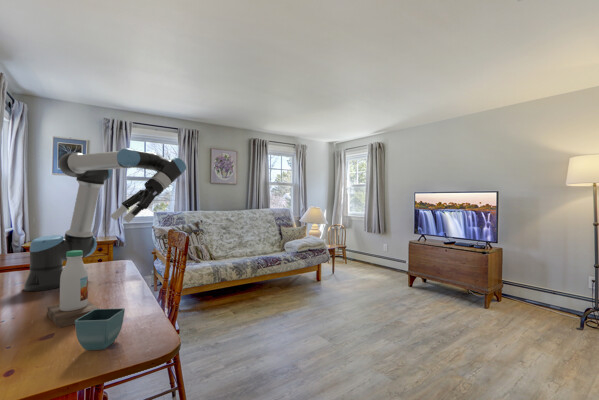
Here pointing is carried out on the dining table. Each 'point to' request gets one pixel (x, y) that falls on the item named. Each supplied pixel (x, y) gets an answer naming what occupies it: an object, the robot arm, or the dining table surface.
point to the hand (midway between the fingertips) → (118, 219)
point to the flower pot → (99, 328)
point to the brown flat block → (67, 314)
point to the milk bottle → (74, 283)
